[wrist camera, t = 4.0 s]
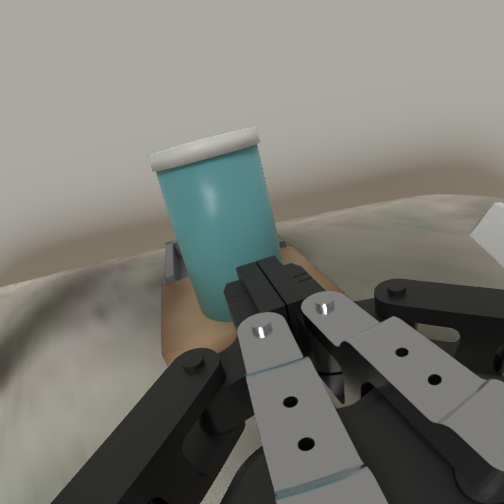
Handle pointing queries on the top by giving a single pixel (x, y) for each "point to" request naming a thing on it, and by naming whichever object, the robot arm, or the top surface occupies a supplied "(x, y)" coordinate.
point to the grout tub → (217, 211)
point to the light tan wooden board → (201, 327)
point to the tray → (182, 261)
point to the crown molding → (492, 232)
